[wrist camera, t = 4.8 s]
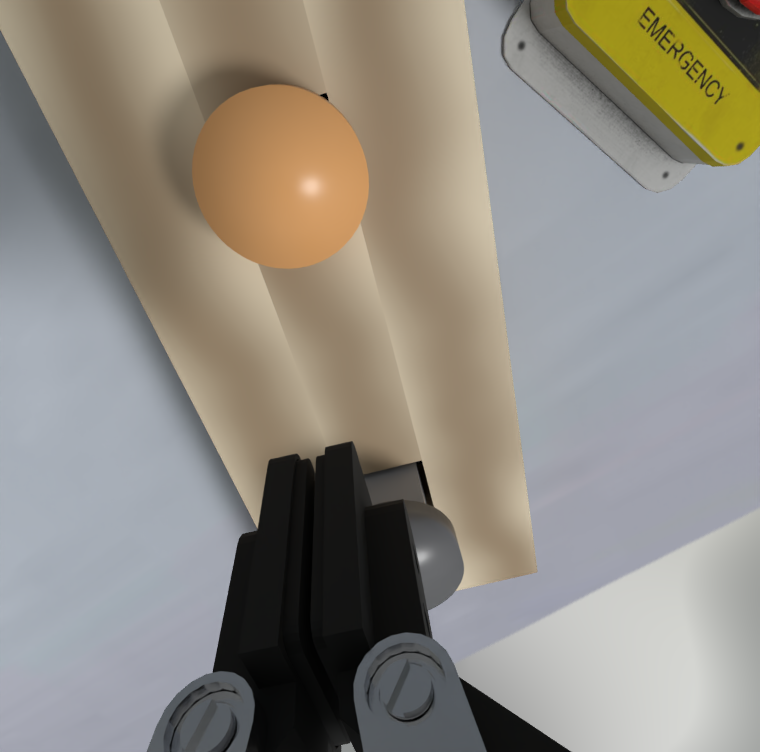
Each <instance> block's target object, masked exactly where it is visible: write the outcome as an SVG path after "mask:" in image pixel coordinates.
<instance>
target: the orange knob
mask: <svg viewBox="0 0 760 752" xmlns="http://www.w3.org/2000/svg"><path fill="white" fill-rule="evenodd" d="M192 178H193V186H194V191H195V196H196V199H197V202H198V205H199V207H200V209H201V212H202V214H203V216H204V218H205V219H206V221H207V223H208V224H209V226H210V227H211V229H212V230H213V231H214V232H215V234H216V235H217V236H218V237H219V238H220V239H221V240H222V241H223V242H224V243H225V244H226V245H227V246H228V247H230V248H231V249H232V250H233V251H235V252H236V253H238V254H239V255H241V256H243V257H244V258H246V259H248V260H251V261H253V262H255V263H258V264H261V265H264V266H268V267H273V268H283V269H292V268H301V267H307V266H310V265H313V264H316V263H319V262H321V261H323V260H325V259H327V258H329V257H330V256H332V255H333V254H335V253H336V252H338V251H339V250H340V249H341V248H342V247H343V246H345V244H346V243H347V242H348V241H349V240H350V239H351V238H352V236H353V235H354V233H355V232H356V230H357V229H358V227H359V224H360V222H361V220H362V218H363V215H364V212H365V209H366V205H367V200H368V193H369V174H368V168H367V162H366V159H365V155H364V152H363V149H362V147H361V144H360V142H359V140H358V138H357V135H356V133H355V131H354V130H353V128H352V126H351V125H350V123H349V122H348V120H347V119H346V118H345V117H344V115H343V114H342V113H341V112H340V111H339V110H338V109H337V108H336V107H335V106H334V105H333V104H331V103H330V102H329V101H327V100H326V99H325V98H323V97H322V96H320V95H318V94H316V93H315V92H312V91H310V90H307V89H305V88H302V87H298V86H294V85H286V84H269V85H264V86H259V87H254V88H250V89H248V90H245V91H242V92H239V93H238V94H236V95H234V96H232V97H230V98H229V99H227V100H226V101H225V102H224V103H222V104H221V105H220V106H219V107H218V108H217V109H216V110H215V111H214V112H213V113H212V114H211V115H210V117H209V118H208V120H207V121H206V122H205V124H204V126H203V128H202V130H201V132H200V134H199V136H198V139H197V142H196V145H195V148H194V154H193V159H192Z"/></svg>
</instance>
